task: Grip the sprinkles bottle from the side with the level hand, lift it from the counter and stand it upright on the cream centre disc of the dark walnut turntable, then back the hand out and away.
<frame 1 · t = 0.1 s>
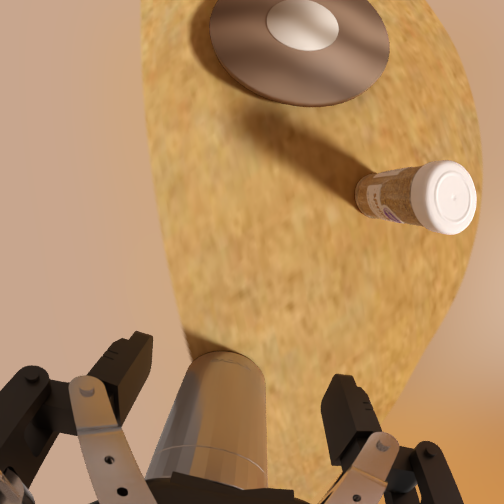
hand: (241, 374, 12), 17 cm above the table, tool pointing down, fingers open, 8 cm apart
turntable platter: (302, 26, 22), point 2 cm above the table, hinge at 0.0°
sprinkles bottle: (373, 196, 27), on the table
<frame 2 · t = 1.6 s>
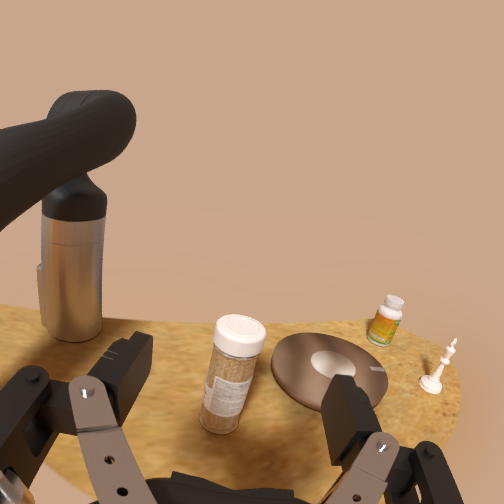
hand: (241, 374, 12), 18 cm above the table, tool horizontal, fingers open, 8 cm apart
chess piece: (429, 386, 41), on the table
turntable platter: (331, 368, 40), point 2 cm above the table, hinge at 0.0°
supplement bottle: (377, 341, 55), on the table
sprinkles bottle: (218, 422, 29), on the table
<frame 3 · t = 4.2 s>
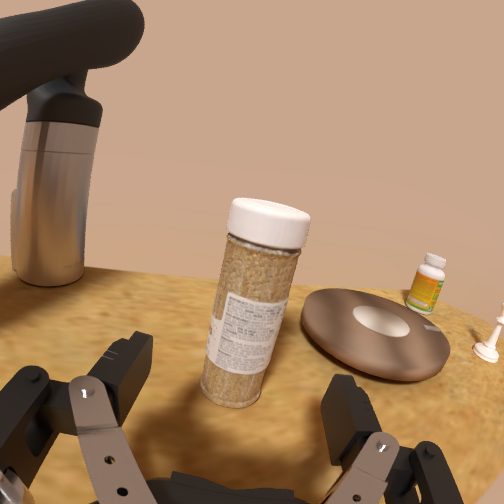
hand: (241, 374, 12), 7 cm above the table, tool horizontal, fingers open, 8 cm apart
chess piece: (484, 355, 31), on the table
turntable platter: (379, 326, 30), point 2 cm above the table, hinge at 0.0°
supplement bottle: (417, 309, 45), on the table
sprinkles bottle: (229, 391, 20), on the table
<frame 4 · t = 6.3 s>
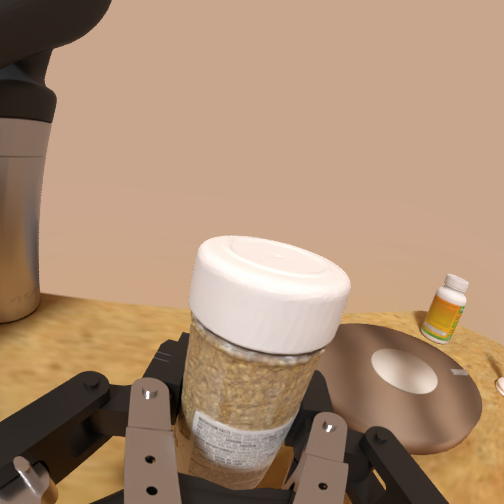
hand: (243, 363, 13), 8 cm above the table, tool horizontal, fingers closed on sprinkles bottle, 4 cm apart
turntable platter: (401, 376, 22), point 2 cm above the table, hinge at 0.0°
supplement bottle: (433, 337, 38), on the table
sprinkles bottle: (211, 489, 12), on the table, touching gripper
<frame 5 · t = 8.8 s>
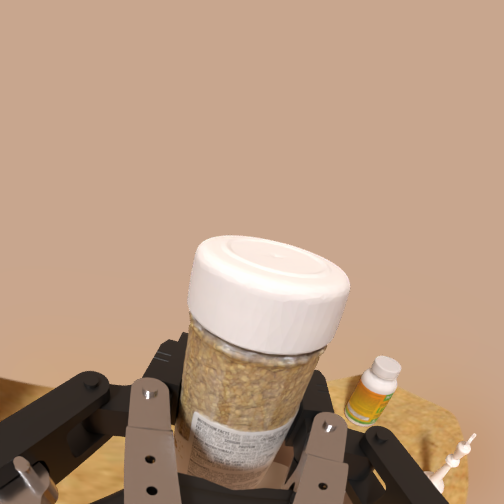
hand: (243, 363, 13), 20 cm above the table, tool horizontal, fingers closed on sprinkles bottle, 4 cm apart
chess piece: (425, 487, 21), on the table
turntable platter: (266, 491, 20), point 2 cm above the table, hinge at 0.0°
supplement bottle: (359, 416, 36), on the table
sprinkles bottle: (210, 490, 12), point 12 cm above the table, touching gripper
when the fingers open (12 cm above the table, at t = 11.6 s): sprinkles bottle stays where it is, resting on turntable platter.
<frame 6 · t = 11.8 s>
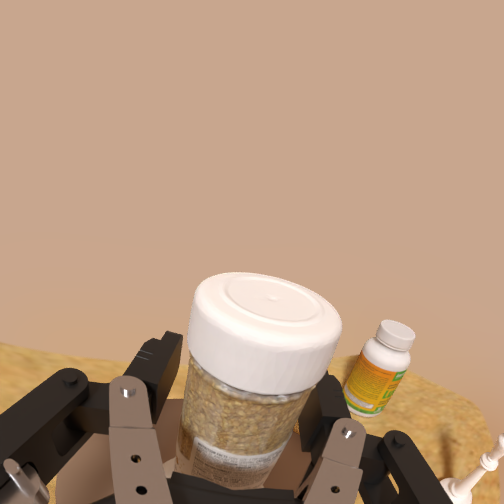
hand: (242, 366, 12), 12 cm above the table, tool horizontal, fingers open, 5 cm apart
chess piece: (448, 500, 13), on the table
turntable platter: (207, 501, 12), point 2 cm above the table, hinge at 0.0°, touching sprinkles bottle
supplement bottle: (360, 403, 28), on the table
sprinkles bottle: (209, 499, 12), point 3 cm above the table, touching turntable platter
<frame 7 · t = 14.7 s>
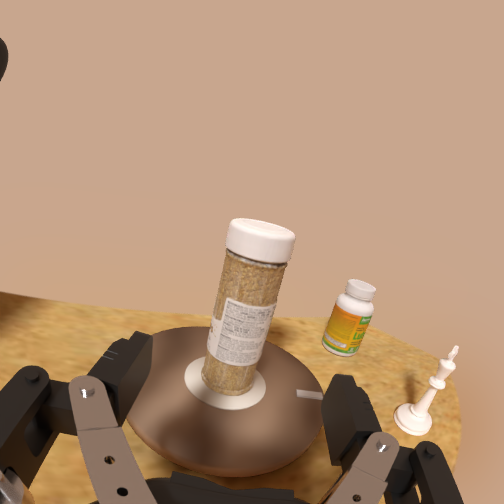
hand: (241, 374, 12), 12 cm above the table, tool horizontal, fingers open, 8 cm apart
chess piece: (411, 422, 25), on the table
turntable platter: (224, 386, 24), point 2 cm above the table, hinge at 0.0°, touching sprinkles bottle
supplement bottle: (338, 348, 39), on the table
sprinkles bottle: (226, 382, 23), point 3 cm above the table, touching turntable platter
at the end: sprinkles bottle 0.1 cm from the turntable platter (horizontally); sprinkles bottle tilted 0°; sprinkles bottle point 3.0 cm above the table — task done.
